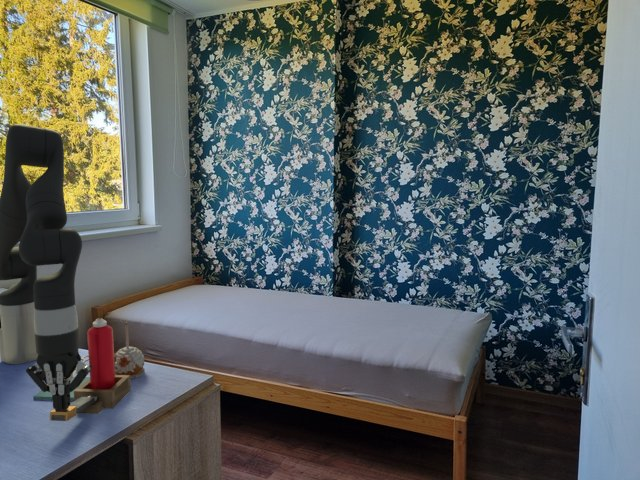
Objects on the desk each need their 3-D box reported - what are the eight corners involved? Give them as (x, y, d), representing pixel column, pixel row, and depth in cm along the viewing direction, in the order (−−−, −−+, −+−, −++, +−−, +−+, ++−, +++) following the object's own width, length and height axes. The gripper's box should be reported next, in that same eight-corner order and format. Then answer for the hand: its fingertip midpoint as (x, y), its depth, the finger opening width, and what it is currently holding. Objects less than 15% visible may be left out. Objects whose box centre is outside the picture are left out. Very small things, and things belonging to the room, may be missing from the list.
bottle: (115, 391, 111) (111, 314, 108) (117, 400, 106) (113, 320, 104) (90, 396, 108) (86, 317, 106) (91, 406, 104) (86, 323, 101)
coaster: (33, 399, 106) (33, 396, 106) (61, 379, 117) (61, 376, 117) (78, 400, 106) (77, 397, 106) (102, 380, 117) (102, 377, 117)
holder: (68, 412, 100) (67, 396, 100) (95, 389, 112) (94, 374, 111) (107, 414, 100) (106, 397, 100) (130, 390, 112) (130, 375, 111)
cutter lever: (83, 400, 102) (83, 392, 102) (98, 400, 101) (98, 393, 101) (49, 420, 90) (50, 411, 90) (67, 421, 90) (67, 412, 90)
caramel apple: (106, 378, 118) (103, 324, 116) (130, 367, 125) (128, 316, 123) (127, 384, 115) (124, 328, 113) (150, 372, 122) (148, 320, 120)
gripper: (99, 322, 92) (103, 402, 94) (37, 322, 93) (42, 401, 95) (78, 334, 85) (83, 420, 87) (11, 333, 85) (17, 418, 87)
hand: (62, 410), depth 91 cm, fingers closed
